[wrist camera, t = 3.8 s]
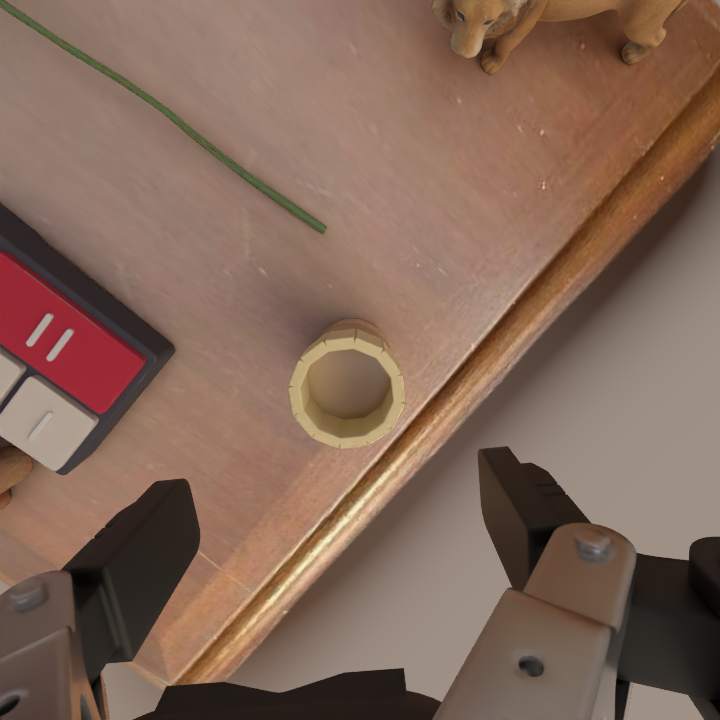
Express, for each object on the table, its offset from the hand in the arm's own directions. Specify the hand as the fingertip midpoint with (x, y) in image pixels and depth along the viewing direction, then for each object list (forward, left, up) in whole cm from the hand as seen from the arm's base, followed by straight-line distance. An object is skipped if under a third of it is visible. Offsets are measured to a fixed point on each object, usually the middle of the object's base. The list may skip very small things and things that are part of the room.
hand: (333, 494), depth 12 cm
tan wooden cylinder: (0, 0, -18) cm, 18 cm away
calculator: (-21, +4, -18) cm, 28 cm away
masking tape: (0, 0, -12) cm, 12 cm away
